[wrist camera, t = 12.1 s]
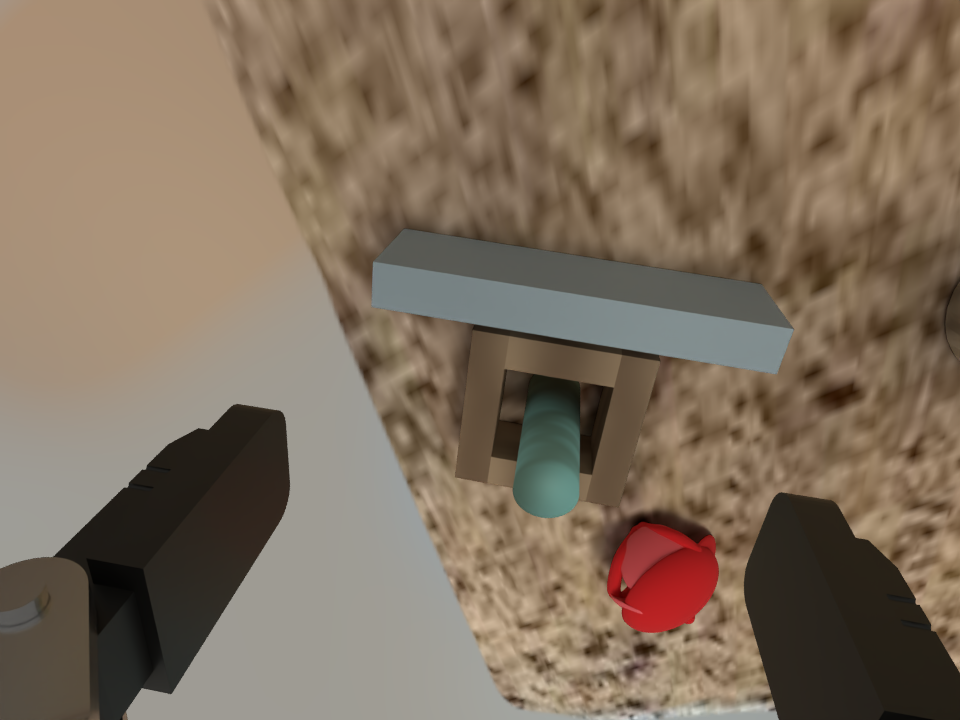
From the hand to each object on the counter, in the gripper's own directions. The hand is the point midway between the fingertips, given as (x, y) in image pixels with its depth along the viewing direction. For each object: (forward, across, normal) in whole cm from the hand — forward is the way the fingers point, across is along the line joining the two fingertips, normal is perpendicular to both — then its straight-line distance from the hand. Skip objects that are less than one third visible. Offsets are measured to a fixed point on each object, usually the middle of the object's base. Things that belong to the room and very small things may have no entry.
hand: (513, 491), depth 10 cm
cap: (+26, -10, +24) cm, 37 cm away
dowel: (+26, -1, +13) cm, 29 cm away
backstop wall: (+26, -2, +5) cm, 26 cm away
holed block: (+26, -1, +13) cm, 29 cm away
